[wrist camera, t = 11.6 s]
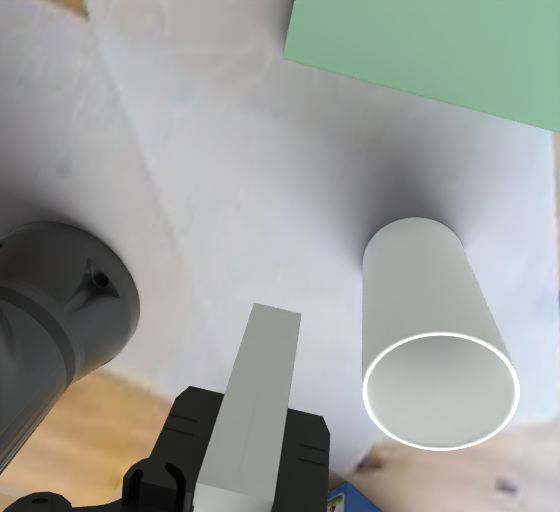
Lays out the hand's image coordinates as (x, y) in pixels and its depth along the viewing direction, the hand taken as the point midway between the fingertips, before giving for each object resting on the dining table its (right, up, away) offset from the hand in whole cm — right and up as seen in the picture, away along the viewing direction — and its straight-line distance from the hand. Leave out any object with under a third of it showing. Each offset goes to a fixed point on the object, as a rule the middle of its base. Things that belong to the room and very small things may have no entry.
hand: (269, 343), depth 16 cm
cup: (+11, +2, +25) cm, 28 cm away
